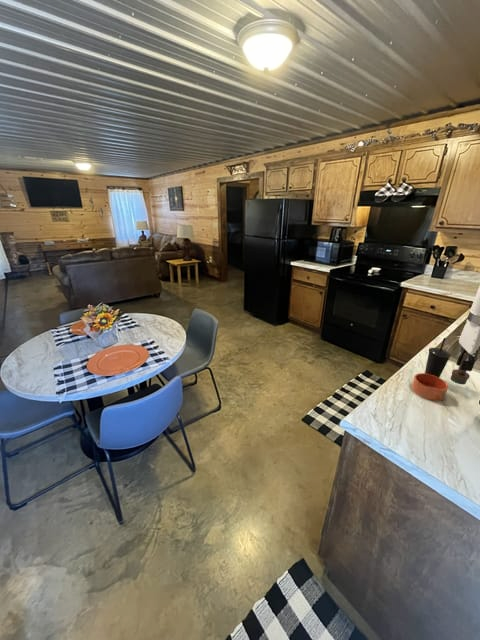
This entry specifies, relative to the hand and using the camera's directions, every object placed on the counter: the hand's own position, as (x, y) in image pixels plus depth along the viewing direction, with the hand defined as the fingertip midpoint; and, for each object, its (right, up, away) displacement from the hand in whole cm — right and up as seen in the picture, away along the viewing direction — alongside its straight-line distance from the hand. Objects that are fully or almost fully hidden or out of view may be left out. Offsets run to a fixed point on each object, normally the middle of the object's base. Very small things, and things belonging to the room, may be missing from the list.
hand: (463, 367), depth 91 cm
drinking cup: (+4, -9, +22) cm, 24 cm away
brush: (0, -5, +2) cm, 6 cm away
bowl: (-2, -12, +14) cm, 19 cm away
